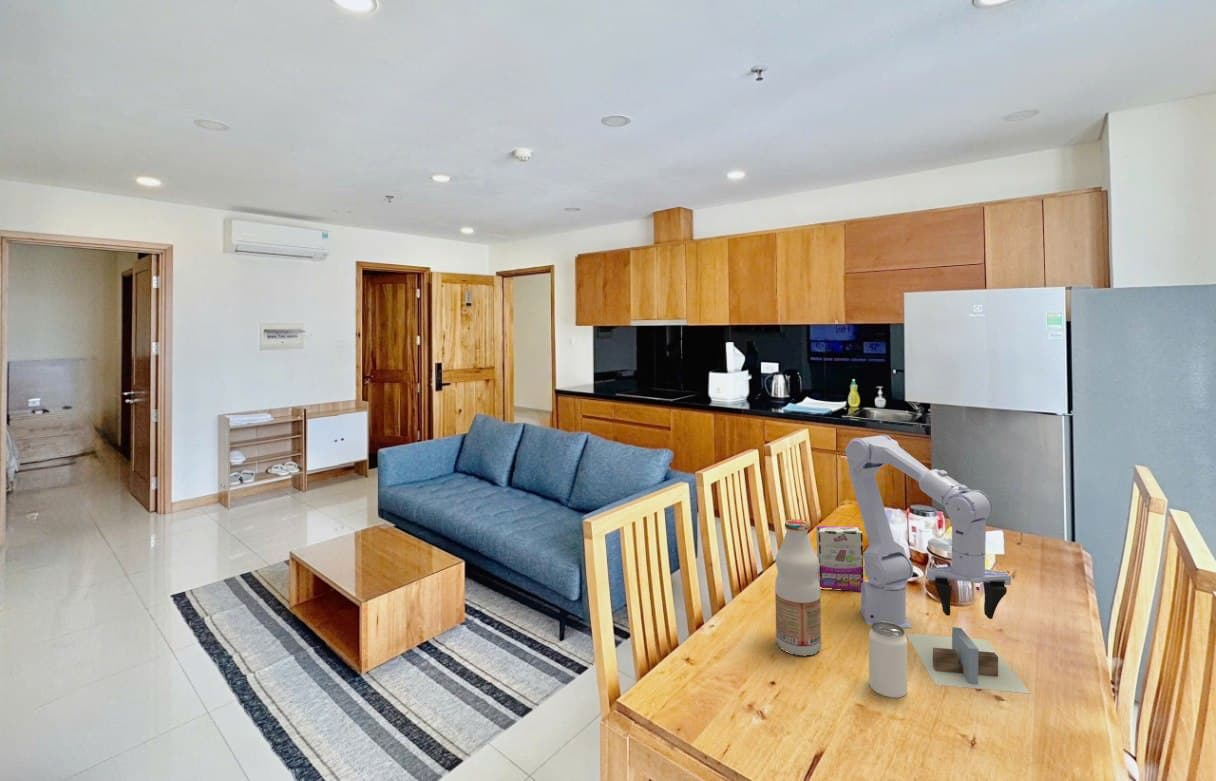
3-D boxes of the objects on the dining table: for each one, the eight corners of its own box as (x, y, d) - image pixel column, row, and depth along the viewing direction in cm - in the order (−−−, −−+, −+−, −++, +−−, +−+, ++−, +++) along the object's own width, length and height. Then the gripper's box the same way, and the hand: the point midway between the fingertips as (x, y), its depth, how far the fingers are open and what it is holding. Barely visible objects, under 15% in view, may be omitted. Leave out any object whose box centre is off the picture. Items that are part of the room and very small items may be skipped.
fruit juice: (777, 655, 117) (775, 528, 115) (775, 632, 126) (773, 514, 124) (824, 659, 115) (822, 530, 113) (818, 636, 124) (816, 516, 122)
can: (905, 703, 100) (906, 641, 99) (867, 693, 103) (867, 632, 102) (908, 684, 105) (908, 625, 104) (871, 675, 109) (871, 617, 108)
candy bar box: (859, 584, 149) (859, 526, 148) (864, 592, 144) (863, 532, 143) (816, 582, 152) (815, 524, 151) (819, 590, 147) (818, 530, 146)
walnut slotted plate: (935, 671, 109) (935, 651, 108) (932, 666, 110) (932, 647, 110) (998, 676, 106) (998, 657, 106) (994, 671, 108) (994, 652, 107)
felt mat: (935, 685, 105) (935, 684, 105) (905, 634, 123) (905, 633, 123) (1031, 695, 101) (1031, 693, 101) (985, 641, 119) (985, 639, 119)
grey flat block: (968, 683, 104) (969, 648, 104) (951, 659, 112) (952, 627, 112) (977, 684, 104) (978, 649, 104) (960, 660, 112) (960, 627, 111)
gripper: (935, 556, 108) (934, 621, 109) (1018, 560, 105) (1017, 628, 106) (923, 543, 115) (923, 605, 116) (1002, 547, 112) (1001, 610, 113)
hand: (967, 614), depth 112 cm, fingers open, 7 cm apart
